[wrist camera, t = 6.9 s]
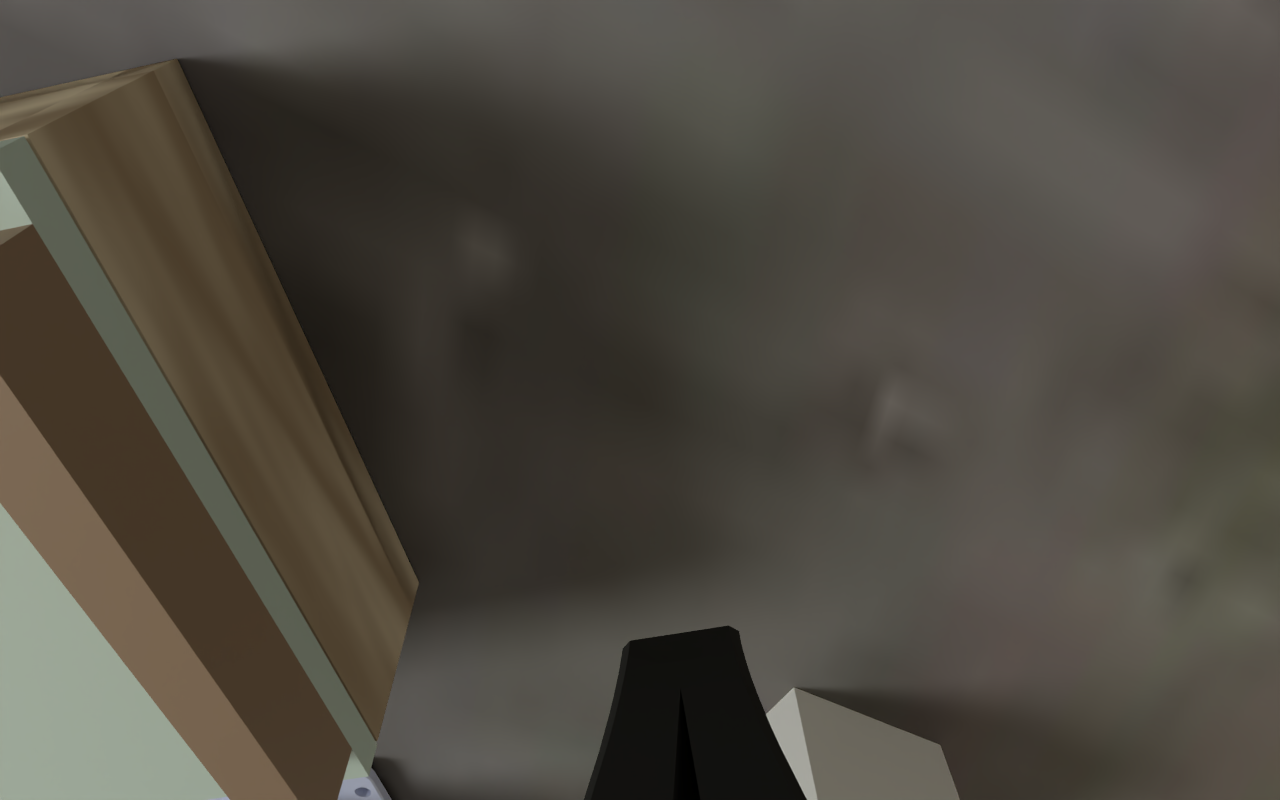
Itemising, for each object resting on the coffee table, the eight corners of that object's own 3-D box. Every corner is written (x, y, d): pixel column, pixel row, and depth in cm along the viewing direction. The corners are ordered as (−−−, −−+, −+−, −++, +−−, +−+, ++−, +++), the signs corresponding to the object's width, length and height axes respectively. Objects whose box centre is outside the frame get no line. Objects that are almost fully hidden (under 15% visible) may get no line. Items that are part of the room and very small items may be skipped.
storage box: (177, 58, 16) (27, 134, 12) (419, 582, 24) (377, 740, 20) (-384, 181, 17) (-700, 290, 13) (18, 647, 25) (-103, 811, 21)
